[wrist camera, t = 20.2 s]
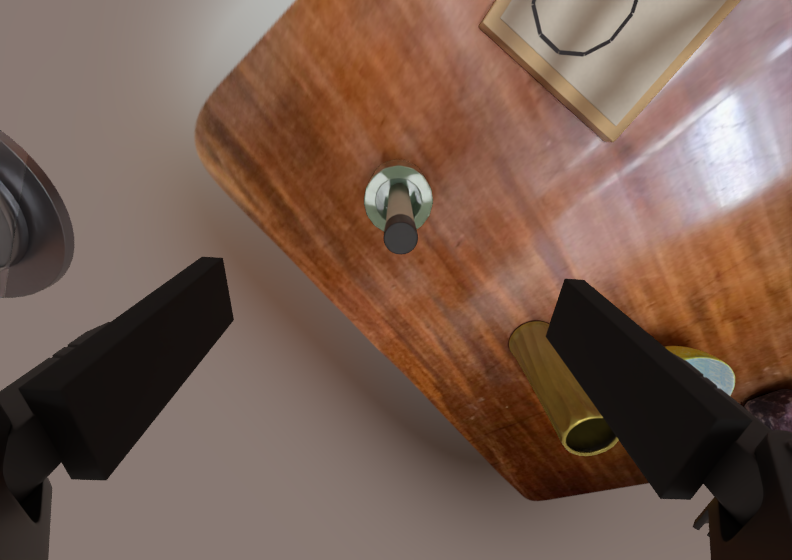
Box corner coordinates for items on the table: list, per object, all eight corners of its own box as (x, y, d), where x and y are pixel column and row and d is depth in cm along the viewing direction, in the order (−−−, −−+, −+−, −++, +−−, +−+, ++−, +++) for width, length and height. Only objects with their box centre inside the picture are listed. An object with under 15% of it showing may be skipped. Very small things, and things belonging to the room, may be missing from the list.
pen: (384, 194, 33) (376, 243, 20) (396, 177, 32) (396, 215, 19) (401, 206, 34) (405, 261, 20) (413, 189, 33) (424, 234, 20)
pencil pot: (358, 198, 34) (351, 211, 29) (389, 146, 32) (388, 151, 27) (405, 229, 35) (406, 246, 30) (438, 182, 33) (446, 192, 28)
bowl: (654, 310, 40) (696, 341, 34) (709, 352, 43) (757, 386, 37) (583, 370, 44) (610, 406, 38) (638, 404, 47) (671, 442, 41)
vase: (561, 320, 40) (637, 412, 28) (551, 358, 43) (617, 459, 30) (511, 320, 40) (565, 412, 28) (505, 359, 43) (551, 459, 30)
